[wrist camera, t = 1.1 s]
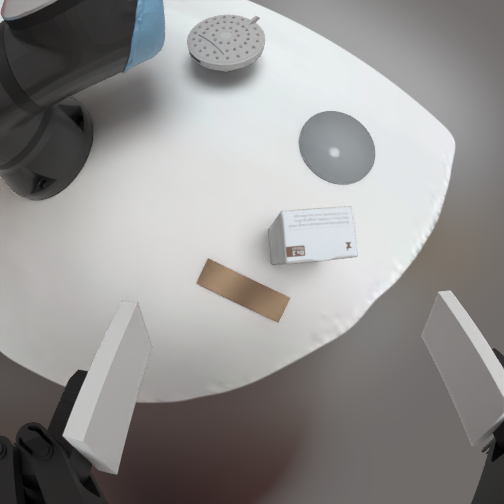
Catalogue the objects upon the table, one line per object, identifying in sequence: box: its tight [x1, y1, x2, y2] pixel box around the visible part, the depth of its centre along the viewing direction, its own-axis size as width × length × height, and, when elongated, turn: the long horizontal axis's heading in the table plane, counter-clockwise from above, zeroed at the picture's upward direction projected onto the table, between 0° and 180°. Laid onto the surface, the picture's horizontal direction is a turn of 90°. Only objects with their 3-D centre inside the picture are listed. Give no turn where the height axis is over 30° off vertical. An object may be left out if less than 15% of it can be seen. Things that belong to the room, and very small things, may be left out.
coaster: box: [299, 111, 375, 184], centre depth 36 cm, size 10×10×1 cm
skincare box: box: [269, 206, 358, 265], centre depth 29 cm, size 6×4×12 cm
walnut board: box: [197, 259, 290, 322], centre depth 34 cm, size 10×3×1 cm, turn 64°
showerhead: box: [187, 15, 265, 72], centre depth 33 cm, size 9×7×10 cm
